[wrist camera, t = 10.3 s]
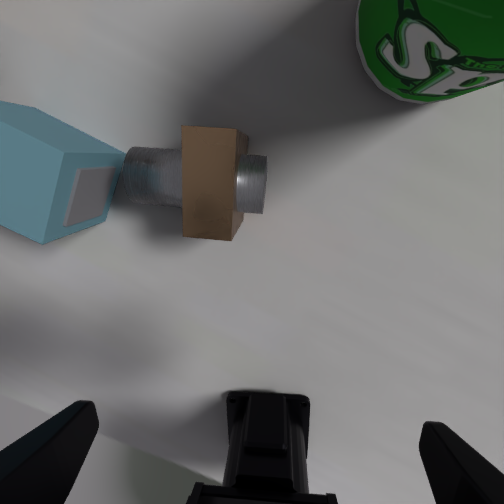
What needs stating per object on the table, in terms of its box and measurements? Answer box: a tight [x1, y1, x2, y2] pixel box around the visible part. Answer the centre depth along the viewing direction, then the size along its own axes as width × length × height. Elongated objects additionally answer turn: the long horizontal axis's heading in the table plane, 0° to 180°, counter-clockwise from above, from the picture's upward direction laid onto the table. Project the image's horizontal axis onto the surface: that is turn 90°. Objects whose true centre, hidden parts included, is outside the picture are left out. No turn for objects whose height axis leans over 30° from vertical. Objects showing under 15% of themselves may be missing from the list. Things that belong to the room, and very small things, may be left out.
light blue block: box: [0, 101, 126, 244], centre depth 16 cm, size 6×5×6 cm
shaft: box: [123, 125, 267, 241], centre depth 15 cm, size 7×5×5 cm
